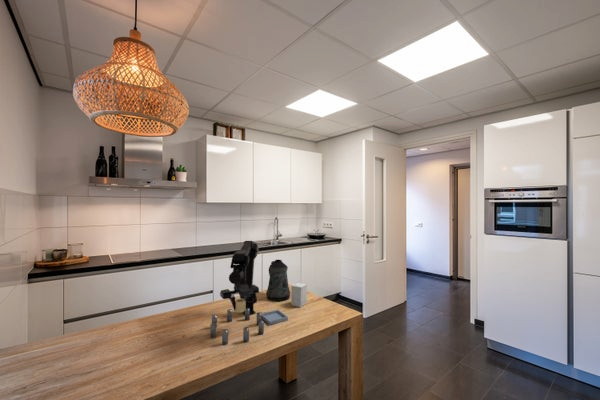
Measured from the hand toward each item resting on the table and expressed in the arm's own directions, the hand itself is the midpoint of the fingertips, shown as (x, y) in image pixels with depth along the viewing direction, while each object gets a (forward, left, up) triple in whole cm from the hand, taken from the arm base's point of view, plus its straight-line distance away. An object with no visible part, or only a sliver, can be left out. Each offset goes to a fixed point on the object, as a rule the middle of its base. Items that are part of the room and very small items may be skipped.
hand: (239, 308), depth 135 cm
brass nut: (0, 0, -1) cm, 1 cm away
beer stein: (-31, +38, -11) cm, 50 cm away
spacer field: (0, -1, -11) cm, 11 cm away
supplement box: (-12, +44, -11) cm, 47 cm away
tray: (-2, +21, -11) cm, 23 cm away
